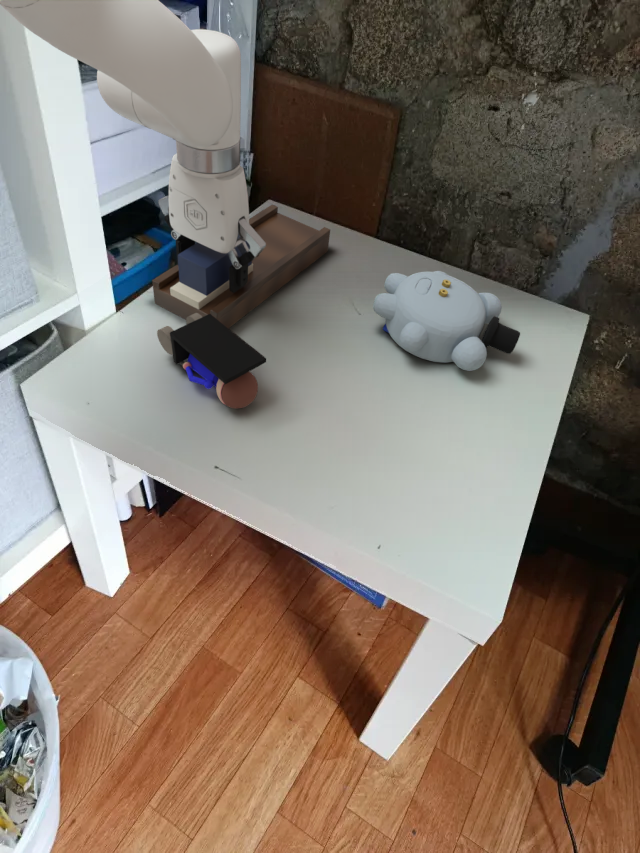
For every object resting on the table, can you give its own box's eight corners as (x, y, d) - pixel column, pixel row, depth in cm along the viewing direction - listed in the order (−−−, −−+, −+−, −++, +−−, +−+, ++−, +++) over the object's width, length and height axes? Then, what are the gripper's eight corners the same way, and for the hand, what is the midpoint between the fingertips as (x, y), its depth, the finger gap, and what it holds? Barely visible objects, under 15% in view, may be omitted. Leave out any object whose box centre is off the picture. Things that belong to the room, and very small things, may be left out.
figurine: (352, 349, 87) (490, 407, 85) (368, 300, 81) (517, 361, 79) (389, 283, 99) (511, 333, 97) (405, 236, 92) (536, 288, 90)
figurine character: (158, 368, 84) (228, 425, 76) (148, 319, 78) (223, 375, 71) (200, 348, 87) (271, 401, 79) (193, 300, 82) (269, 351, 74)
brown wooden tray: (217, 337, 87) (217, 313, 84) (154, 303, 90) (151, 280, 87) (327, 251, 104) (330, 229, 101) (271, 226, 107) (272, 204, 104)
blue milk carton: (198, 309, 86) (197, 275, 82) (170, 295, 87) (167, 260, 83) (253, 270, 93) (253, 237, 89) (226, 257, 95) (225, 224, 90)
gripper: (131, 138, 77) (146, 262, 89) (247, 187, 71) (245, 312, 84) (174, 120, 81) (182, 241, 94) (286, 165, 76) (278, 287, 89)
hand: (212, 274), depth 89 cm, fingers open, 8 cm apart
